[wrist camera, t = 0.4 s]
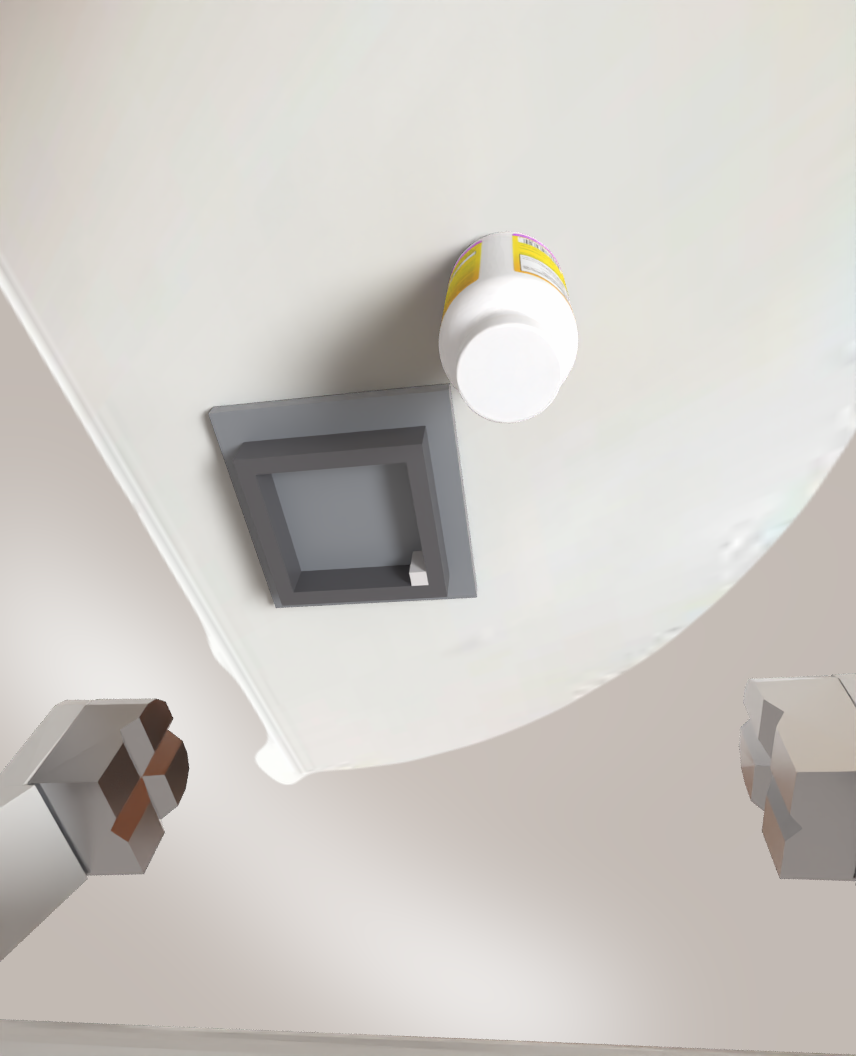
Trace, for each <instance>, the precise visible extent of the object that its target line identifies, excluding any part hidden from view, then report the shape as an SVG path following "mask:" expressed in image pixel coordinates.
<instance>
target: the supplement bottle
mask: <svg viewBox="0 0 856 1056" xmlns="http://www.w3.org/2000/svg"><path fill="white" fill-rule="evenodd" d="M577 347H578V333H577V326H576V321H575V317H574V313H573V310H572V307H571V303H570V299H569V295H568V291H567V288H566V284H565V281H564V277H563V274H562V271H561V268H560V266H559V264H558V262H557V260H556V258H555V257H554V255H553V254H552V253H551V251H550V250H549V249H548V248H547V247H546V246H545V245H544V244H542V243H541V242H540V241H538V240H537V239H535V238H533V237H531V236H529V235H526V234H523V233H518V232H509V231H506V232H497V233H493V234H490V235H487V236H485V237H482V238H480V239H479V240H477V241H475V242H474V243H473V244H471V245H470V246H469V247H468V248H467V249H466V250H465V251H464V252H463V253H462V254H461V256H460V257H459V259H458V260H457V262H456V264H455V265H454V268H453V270H452V273H451V276H450V280H449V284H448V289H447V294H446V300H445V305H444V311H443V317H442V322H441V327H440V332H439V354H440V359H441V363H442V366H443V369H444V371H445V373H446V376H447V377H448V379H449V381H450V382H451V383H452V385H453V386H454V387H455V388H456V389H457V390H458V391H459V393H460V395H461V397H462V399H463V400H464V402H465V403H466V404H467V405H468V407H469V408H470V409H471V410H472V411H474V412H475V413H476V414H478V415H479V416H481V417H483V418H485V419H488V420H490V421H494V422H499V423H516V422H521V421H525V420H528V419H530V418H532V417H534V416H536V415H538V414H539V413H541V412H542V411H543V410H545V409H546V408H547V407H548V406H549V405H550V403H551V402H552V401H553V400H554V398H555V397H556V395H557V393H558V391H559V388H560V386H561V385H562V383H563V382H564V381H565V379H566V378H567V376H568V375H569V373H570V371H571V369H572V367H573V364H574V362H575V358H576V353H577Z"/></svg>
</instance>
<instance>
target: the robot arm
mask: <svg viewBox="0 0 856 1056" xmlns="http://www.w3.org/2000/svg"><path fill="white" fill-rule="evenodd" d="M743 703H744V705H745V708H746V710H747V713H748V715H749V718H750V719H749V720H748V721H747V722H746V723H745V724H744V725H743V726H742V727H741V728H740V743H739V750H740V761H741V769H742V773H743V777H744V782H745V785H746V788H747V791H748V794H749V796H750V799H751V801H752V802H753V803H754V804H756V805H757V806H758V807H759V808H761V809H762V810H763V811H764V817H763V826H762V833H763V835H764V838H765V841H766V843H767V846H768V849H769V851H770V854H771V857H772V859H773V862H774V865H775V867H776V870H777V873H778V875H779V878H780V879H809V880H839V881H856V674H835V675H831V676H806V677H805V676H803V677H778V678H756V679H755V678H754V679H748V681H747V684H746V686H745V692H744V700H743ZM172 720H173V717H172V714H171V712H170V710H169V708H168V706H167V704H166V702H165V701H162V700H159V699H96V700H65V701H63V702H61V703H59V704H57V705H55V706H54V707H53V709H52V710H51V711H50V712H49V714H48V715H47V716H46V717H45V719H44V720H43V721H42V722H41V723H40V725H39V726H38V727H37V728H36V730H35V731H34V732H33V733H32V735H31V736H30V737H29V738H28V740H27V741H26V742H25V743H24V745H23V746H22V747H21V748H20V750H19V751H18V752H17V753H16V755H15V756H14V757H13V758H12V760H11V761H10V762H9V763H8V765H7V766H6V767H5V768H4V770H3V771H2V772H1V773H0V961H1V960H2V959H4V958H5V957H6V956H7V955H8V954H9V953H10V952H11V951H12V950H13V949H14V948H15V947H16V946H17V945H18V944H19V943H20V942H22V941H23V940H24V939H25V938H26V937H27V936H28V935H29V934H30V933H31V932H32V931H33V930H34V929H35V928H36V927H37V926H38V925H39V924H41V922H43V921H44V920H45V919H46V918H47V917H48V916H49V915H50V914H51V913H52V912H53V911H54V910H55V909H56V908H57V907H58V906H60V905H61V904H62V903H63V902H64V901H65V900H66V899H67V898H68V897H69V896H70V895H71V894H72V893H73V892H74V891H75V890H76V889H78V888H79V886H81V885H82V884H83V883H84V882H85V881H86V880H87V875H124V874H125V875H129V874H144V873H145V871H146V869H147V867H148V865H149V863H150V861H151V859H152V857H153V855H154V853H155V851H156V849H157V847H158V845H159V843H160V841H161V839H162V837H163V835H164V833H165V831H164V828H163V824H162V820H161V819H162V818H163V817H165V816H166V815H167V814H168V813H170V812H171V811H172V810H173V809H174V808H176V807H177V806H178V805H179V802H180V800H181V798H182V796H183V794H184V791H185V789H186V784H187V779H188V772H189V763H188V755H187V751H186V749H185V746H184V743H183V741H182V740H180V738H178V737H177V736H176V735H174V734H173V733H172V732H170V731H169V730H168V729H169V727H170V725H171V723H172ZM0 1056H856V1055H850V1054H825V1053H802V1052H778V1051H777V1052H776V1051H754V1050H730V1049H729V1050H728V1049H705V1048H682V1047H658V1046H633V1045H608V1044H584V1043H561V1042H536V1041H512V1040H489V1039H465V1038H440V1037H417V1036H392V1035H367V1034H343V1033H342V1034H341V1033H318V1032H317V1033H315V1032H292V1031H269V1030H244V1029H218V1028H195V1027H171V1026H147V1025H123V1024H98V1023H75V1022H51V1021H28V1020H4V1019H0Z"/></svg>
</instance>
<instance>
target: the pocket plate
mask: <svg viewBox="0 0 856 1056" xmlns="http://www.w3.org/2000/svg"><path fill="white" fill-rule="evenodd" d="M208 414H209V417H210V420H211V423H212V426H213V429H214V431H215V434H216V437H217V440H218V443H219V446H220V449H221V452H222V454H223V457H224V460H225V463H226V466H227V469H228V472H229V475H230V477H231V480H232V483H233V486H234V489H235V492H236V495H237V498H238V500H239V503H240V506H241V509H242V512H243V515H244V518H245V521H246V523H247V526H248V529H249V532H250V535H251V538H252V541H253V544H254V546H255V549H256V552H257V555H258V558H259V561H260V564H261V567H262V569H263V572H264V575H265V578H266V581H267V584H268V587H269V590H270V592H271V595H272V598H273V601H274V604H275V607H276V608H284V607H303V606H322V605H341V604H360V603H379V602H398V601H417V600H437V599H456V598H475V597H477V584H476V576H475V569H474V561H473V554H472V546H471V539H470V531H469V524H468V516H467V509H466V501H465V494H464V486H463V479H462V471H461V464H460V456H459V449H458V441H457V434H456V426H455V419H454V411H453V404H452V396H451V389H450V383H449V384H439V385H429V386H419V387H409V388H399V389H389V390H379V391H368V392H358V393H348V394H338V395H328V396H318V397H308V398H298V399H288V400H278V401H267V402H257V403H247V404H237V405H227V406H217V407H213V408H212V409H211V410H210V412H209V413H208Z"/></svg>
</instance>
